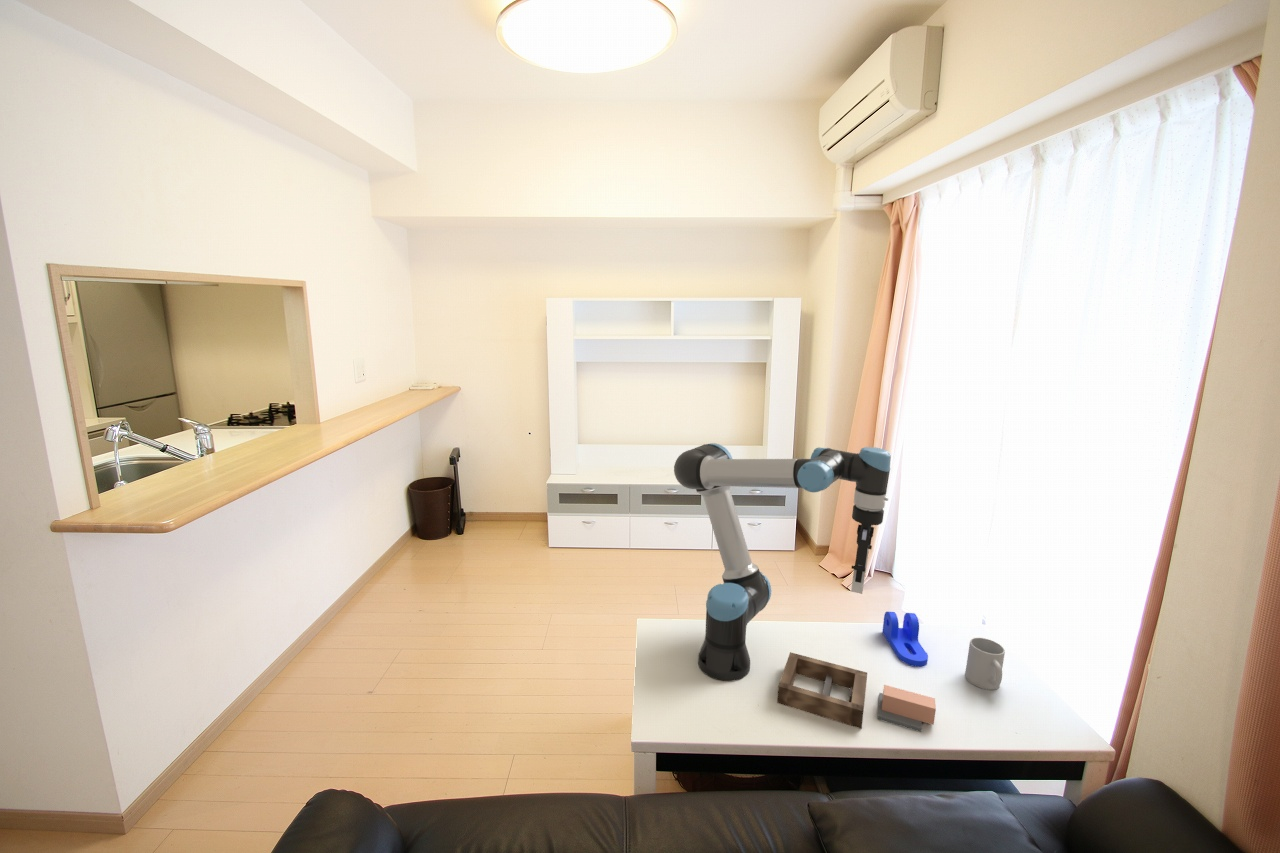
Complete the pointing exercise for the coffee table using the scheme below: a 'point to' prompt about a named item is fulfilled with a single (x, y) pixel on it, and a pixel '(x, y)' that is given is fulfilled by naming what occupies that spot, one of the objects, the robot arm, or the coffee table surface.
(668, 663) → the coffee table surface
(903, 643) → the bracket
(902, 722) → the rubber pad
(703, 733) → the coffee table surface
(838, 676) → the brown wooden frame
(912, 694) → the terracotta block
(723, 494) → the robot arm
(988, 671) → the mug
